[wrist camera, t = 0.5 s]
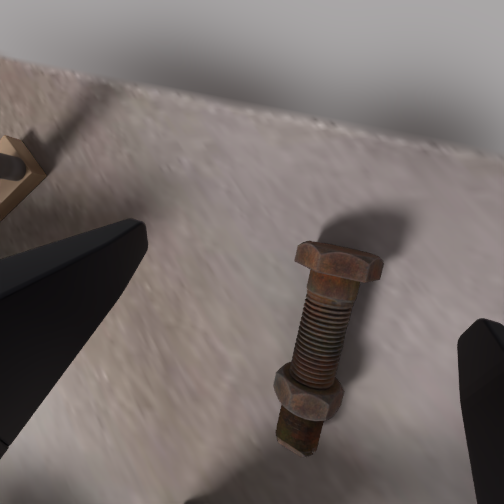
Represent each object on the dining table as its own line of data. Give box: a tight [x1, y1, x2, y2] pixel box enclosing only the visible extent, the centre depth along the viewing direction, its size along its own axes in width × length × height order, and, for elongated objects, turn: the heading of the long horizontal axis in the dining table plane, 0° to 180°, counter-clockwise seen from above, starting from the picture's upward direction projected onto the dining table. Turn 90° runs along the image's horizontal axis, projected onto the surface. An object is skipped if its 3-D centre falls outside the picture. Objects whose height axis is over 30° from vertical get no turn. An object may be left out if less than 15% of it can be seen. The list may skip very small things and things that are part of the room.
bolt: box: [273, 241, 384, 457], centre depth 21 cm, size 6×5×15 cm
